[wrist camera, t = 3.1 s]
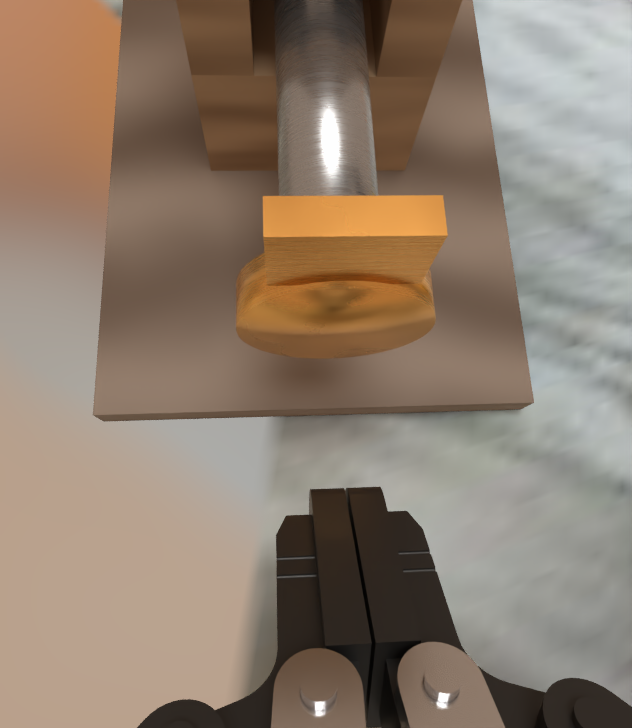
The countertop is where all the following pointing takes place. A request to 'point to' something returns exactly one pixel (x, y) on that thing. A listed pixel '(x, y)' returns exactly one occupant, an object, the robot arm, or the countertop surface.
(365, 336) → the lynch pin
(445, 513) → the countertop surface
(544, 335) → the countertop surface
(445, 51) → the hitch post
